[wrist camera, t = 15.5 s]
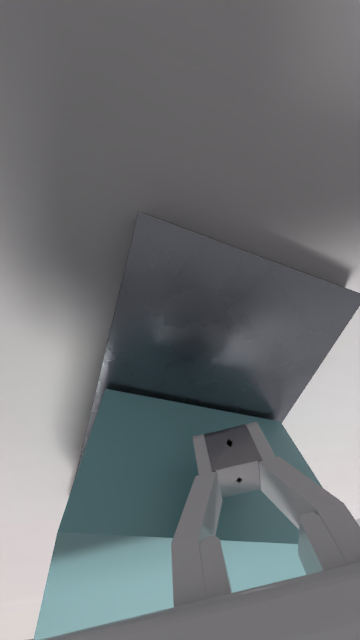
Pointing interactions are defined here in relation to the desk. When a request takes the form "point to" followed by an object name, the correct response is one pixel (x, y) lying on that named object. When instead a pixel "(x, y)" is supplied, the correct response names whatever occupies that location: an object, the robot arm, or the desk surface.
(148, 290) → the housing base
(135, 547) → the cover
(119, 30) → the desk surface
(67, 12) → the desk surface
